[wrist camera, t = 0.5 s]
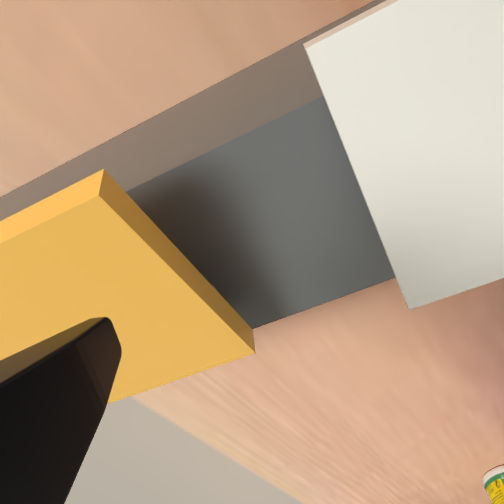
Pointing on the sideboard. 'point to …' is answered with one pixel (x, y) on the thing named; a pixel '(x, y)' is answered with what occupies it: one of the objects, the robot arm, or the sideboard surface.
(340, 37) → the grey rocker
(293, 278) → the dark grey block
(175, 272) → the yellow flat slab
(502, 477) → the supplement bottle
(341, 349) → the sideboard surface
